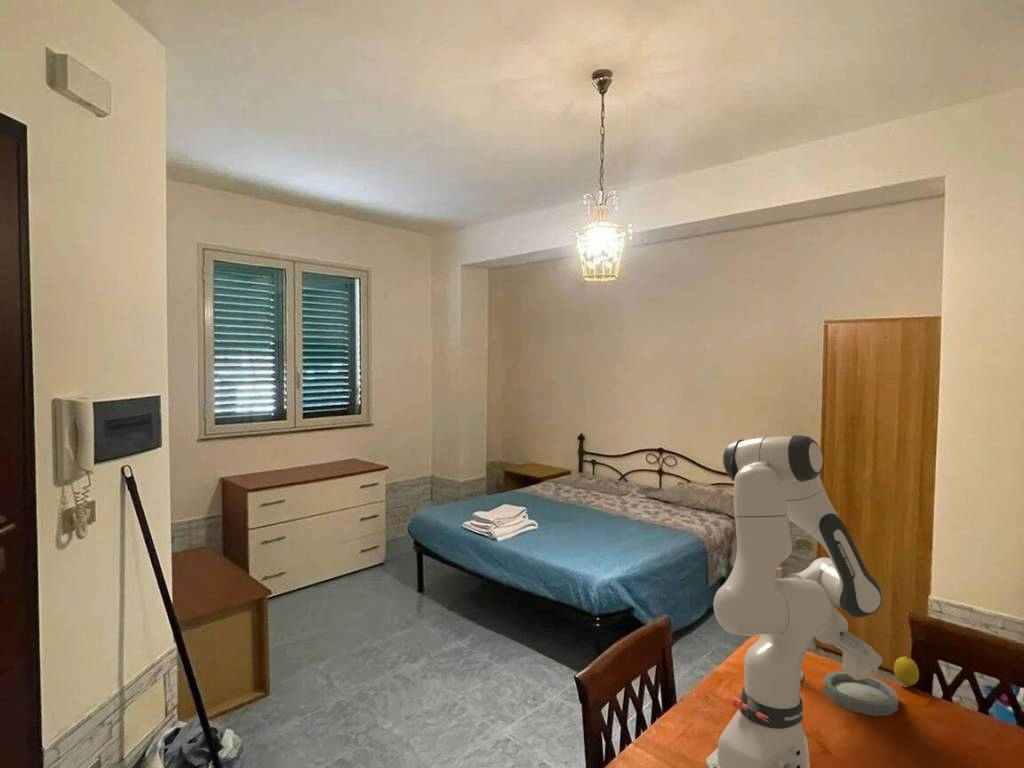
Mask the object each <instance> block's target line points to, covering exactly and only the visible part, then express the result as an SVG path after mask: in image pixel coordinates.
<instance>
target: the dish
mask: <svg viewBox="0 0 1024 768" xmlns="http://www.w3.org/2000/svg"><path fill="white" fill-rule="evenodd" d="M823 680H824V686H825V687H824V694H825V695H826V696H827V695H828V696H827V697H828V698H829V699H830V700H831V699H832V700H831V701H832V702H833V701H834V702H833V703H834V704H836V703H837V704H836V705H838V704H839V706H841V707H843V708H845V709H848V710H849V711H851V712H855V713H857V714H858V713H859V714H863V715H868V716H872V717H876V716H877V717H880V716H882V717H883V716H884V717H885V716H891V715H892V714H894V713H895V712H897V711H899V699H898V695H897V692H896V690H895V689H894V688H893V687H891V686H890V685H889V684H887V682H884V681H882V680H880V679H878V678H875V677H873V676H871V678H868V679H861V680H855V679H854V678H852V677H851V676H849V675H848V674H846V673H845V672H844V671H842V670H841V671H840V670H838V671H831V672H829V673H827V674H826V675H824V679H823Z"/></svg>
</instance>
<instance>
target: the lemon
mask: <svg viewBox="0 0 1024 768" xmlns="http://www.w3.org/2000/svg"><path fill="white" fill-rule="evenodd" d="M893 672H894V674H895V675H894V676H895V678H896V679H897V680H898V681H899V682H900V683H901V684H903V685H904V686H905V687H909V686H913V685H916V684H917V682H918V681H919V678H920V672H919V667H918V664H917V663H916V662H915V661H914V660H913V659H912V658H909V657H908V656H901V657H898V658H896V660H895V662H894V666H893Z"/></svg>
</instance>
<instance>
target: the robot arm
mask: <svg viewBox="0 0 1024 768" xmlns="http://www.w3.org/2000/svg"><path fill="white" fill-rule="evenodd" d="M722 455H723V456H722V463H723V467H724V470H725V472H726V474H727V476H728V477H729V478H730V479H731V480H732V481H733V513H734V521H735V522H734V523H735V533H736V536H735V537H736V554H735V561H734V564H733V567H732V570H731V572H730V574H729V576H728V578H727V580H726V581H725V582H723V584H722V585H721V586H720V587H719V588H718V589H717V591H716V592H715V594H714V598H713V604H712V605H713V606H712V607H713V611H714V617H715V618H716V620H717V622H718V623H719V625H720V626H721V627H722V629H724V631H726V632H727V633H729V634H731V635H738V636H745V637H746V636H747V637H758V636H759V638H758V639H757V640H756V641H755V642H754V643H753V644H751V646H749V647H748V648H747V650H746V653H745V655H744V685H743V687H742V691H741V693H740V698H738V697H737V696H734V697H733V698H732V699H731V701H730V702H731V705H732V707H734V708H737V711H736V712H735V713H734V715H733V717H732V718H731V719H730V721H729V723H727V726H726V727H725V729H724V730H723V731H722V732H721V734H720V736H719V739H718V743H717V744H718V745H717V748H716V749H715V750H714V751H713V752H712V753H710V755H708V757H706V759H705V765H706V767H707V768H811V765H810V753H809V752H810V751H809V742H808V737H807V734H806V733H805V730H804V727H803V723H802V721H803V719H804V718H803V713H804V706H803V700H802V697H801V682H802V681H801V670H802V666H803V661H804V658H805V656H806V652H807V650H808V648H809V646H810V644H811V642H812V640H813V638H815V639H817V641H819V642H820V643H821V644H824V645H833V646H835V647H836V648H837V649H839V650H841V651H842V652H843V651H844V652H845V653H847V654H848V655H850V656H852V657H853V658H855V659H856V660H858V661H859V662H861V663H862V664H864V665H865V666H867V667H869V668H870V669H872V670H871V671H877V669H878V668H879V667H880V666H881V664H882V662H883V659H882V657H881V656H880V654H878V653H877V652H876V651H875V650H874V649H873V647H872V646H870V645H869V644H868V643H866V642H865V641H863V639H861V638H859V637H857V636H856V635H854V634H853V633H851V632H849V630H848V629H849V624H848V621H847V619H846V618H845V617H844V616H843V615H842V613H840V611H838V610H837V608H836V607H835V605H836V606H838V607H839V608H841V609H842V610H843V611H845V612H846V613H847V614H849V615H850V616H851V617H853V618H857V619H860V618H861V619H862V618H866V617H871V616H872V615H874V614H875V613H876V612H878V611H879V609H880V608H881V605H882V604H883V603H882V601H883V593H882V589H881V585H880V584H879V582H878V581H877V580H876V579H875V578H874V577H873V576H872V575H871V574H870V573H869V571H868V569H867V567H866V565H865V563H864V561H863V559H862V556H861V555H860V553H859V549H858V548H857V547H856V544H855V543H854V539H853V538H852V536H851V533H850V532H849V530H848V528H847V527H846V526H845V524H844V522H843V520H842V519H841V518H840V516H839V514H838V512H837V511H836V510H835V508H834V506H833V505H832V503H831V500H830V498H829V496H828V494H827V492H826V490H825V487H824V485H823V482H822V479H821V477H820V474H821V473H822V470H823V465H824V459H823V453H822V450H821V447H820V445H819V443H817V441H816V440H814V438H812V437H810V436H807V435H801V434H800V435H797V434H795V435H793V436H792V435H791V436H785V435H783V436H781V435H779V436H775V435H774V436H769V435H766V436H758V437H753V438H748V439H739V440H735V441H732V442H730V443H728V444H727V446H726V448H725V449H724V451H723V454H722ZM790 522H792V523H793V524H794V525H796V526H797V527H799V528H800V529H802V530H804V532H806V533H807V534H809V536H810V535H811V536H812V537H813V538H814V539H815V540H816V541H817V542H818V543H819V544H820V545H821V546H822V547H823V548H824V550H825V552H826V553H827V555H828V556H827V557H826V556H823V557H822V556H821V557H818V558H816V559H814V560H812V561H811V562H810V563H809V564H808V565H807V567H806V568H805V569H804V570H802V571H800V572H796V573H795V572H794V573H790V574H788V575H787V576H785V577H784V578H783V577H782V578H781V579H774V578H775V573H776V570H777V568H778V567H780V565H781V563H782V562H784V561H785V560H786V559H788V557H790V555H791V553H792V550H793V544H792V543H793V541H792V536H791V535H792V534H791V529H790V528H791V527H790ZM871 647H872V648H871Z"/></svg>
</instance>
